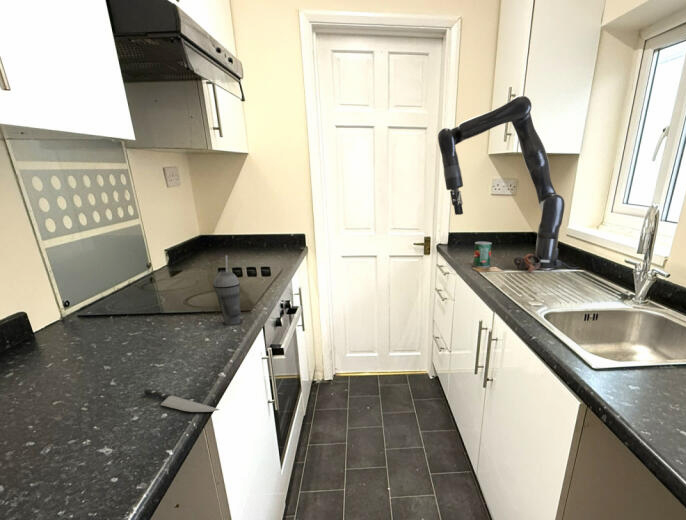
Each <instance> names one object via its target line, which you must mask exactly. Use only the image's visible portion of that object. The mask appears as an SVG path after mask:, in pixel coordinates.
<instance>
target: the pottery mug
mask: <svg viewBox="0 0 686 520" xmlns="http://www.w3.org/2000/svg"><path fill="white" fill-rule="evenodd" d="M531 259H533V261H534V260H536V261H538V263H534V262H533V261H531ZM532 262H533V264H532ZM540 263H541V260H540V258H539V257H537V256H536V255H535V254H532V253H527V255H525V256H523V257H521V256H516V257H514V259H513V264H514V265H515V266H516V267H517V268H518V269H519V270H520V268H525V269H528V272H529V273H532V272H533V271H536V270H539V269H538V268H539V267H540Z"/></svg>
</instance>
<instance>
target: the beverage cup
mask: <svg viewBox="0 0 686 520" xmlns="http://www.w3.org/2000/svg"><path fill="white" fill-rule="evenodd" d="M224 257H225V259H224V260H225V270H221V271H219V272H217V273H216V274H215V276H214V278H213V280H212V287H213V289H214V292H215V294H216V297H217V301H218V304H219V308H220V312H221V315H222V319H223V322H224V324H225V325H228V326H231V325H237V324H240V323H241V320H242V319H241V299H240V289H241V288H240V287H241V286H240V285H241V283H240V281H239V278H238V276H237V275H236V274H235V273H234V272H232V271H229V269H228V268H229V267H228V266H229V265H228V264H229V263H228V254H227V255H225V256H224Z"/></svg>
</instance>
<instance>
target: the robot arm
mask: <svg viewBox="0 0 686 520" xmlns="http://www.w3.org/2000/svg"><path fill="white" fill-rule="evenodd" d="M531 111H532V101H531V99H530V98H529V97H527V96H526V95H517V96H515V97H514V98H513V99H511V100H509V101H508V102H506V103H504V104H503V105H501V106H500V107H497V108H495V109H493V110H490V111H488V112H485V113H483V114H480V115H476V116H474V117H472V118H469V119H467V120H465V121H462V122H460V123H459V124H458V126H455V127H453V128H449V127H443V128H442V129H440V130H439V132H438V134H437V142H438V147H439V151H440V154H441V162H442V167H443V177H444V183H445V189H446V191H449V194H450V198H451V205H452V206H453V210H454V215H455V216H460V215H463V214H464V211H463V203H464V202H463V198H462V192H461V190H460V188H463V187H464V182H463V176H462V170H461V167H460V160H459V156H458V153H457V149H456V145H458V144H460V143H462V142H464V141H466V140H469V139H471V138H474V137H476V136H478V135H481V134H484V133H485V132H487V131H489V130H491V129H494V128H496V127H498V126H501V125H504V124H508V123H511V124H512V126H513V128H514V130H515V133H516V135H517V136H516V137H517V139H518V144H519V147H520V151H521V155H522V158H523V161H524V165H525V167H526V169H527V171H528V175H529V178H530V180H531V182H532V184H533V186H534V189H535V192H536V196H537V201H538V205H539V208H540V211H541V218H540V222H539V224H538V226H537V227H538V229H537V235H536V236H537V237H536V244H535V252H534V255H536V256H537V257H539V258H540V260H541V263H540V267H539V268H538V269H537V270H540V271H553V270H556V269H557V267H561V266H562V265H563V266H566V268H567V269H570V270H576V269H580V268H581V266H573V267H572V266H569V265H568V264H567V263H565V262H563V261H562V260H559V259H558V256H559V248H558V245H559V244H558V243H559V236H560V230H561V226H562V225H563V219H564V213H565V207H566V203H565V199H564V197H563V196H562V195H560V194H558V193H557V192H556V189H555V187H554V185H553V182H552V177H551V166H550V161H549V156H548V154H547V151H546V149H545V146H544V143H543V142H542V139H541V137H540V135H539V134H538V132H537V130H536V128H535V126H534V122H533V118H532V114H531V113H532V112H531ZM534 263H538V261H536V260H534V259H533V264H534Z"/></svg>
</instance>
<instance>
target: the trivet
mask: <svg viewBox="0 0 686 520" xmlns="http://www.w3.org/2000/svg"><path fill="white" fill-rule="evenodd" d="M472 269H473V270H475V271H476V272H477V273H489V272H491V273H492V272H504V270H503V269H501V268H499V267H498V266H490V267H472Z"/></svg>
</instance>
